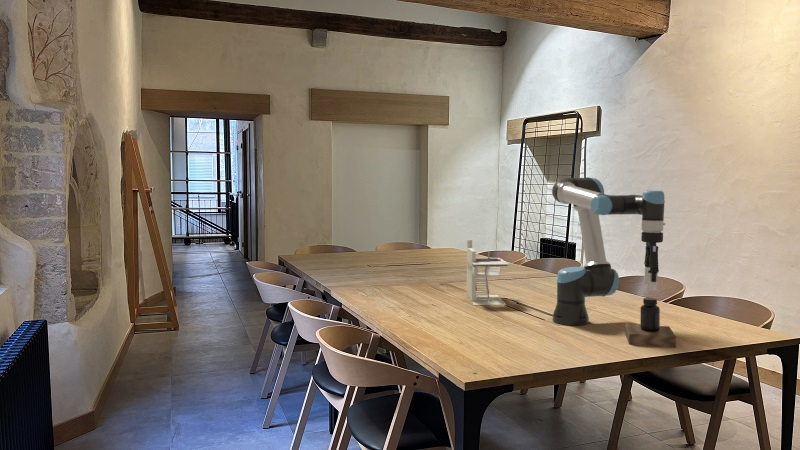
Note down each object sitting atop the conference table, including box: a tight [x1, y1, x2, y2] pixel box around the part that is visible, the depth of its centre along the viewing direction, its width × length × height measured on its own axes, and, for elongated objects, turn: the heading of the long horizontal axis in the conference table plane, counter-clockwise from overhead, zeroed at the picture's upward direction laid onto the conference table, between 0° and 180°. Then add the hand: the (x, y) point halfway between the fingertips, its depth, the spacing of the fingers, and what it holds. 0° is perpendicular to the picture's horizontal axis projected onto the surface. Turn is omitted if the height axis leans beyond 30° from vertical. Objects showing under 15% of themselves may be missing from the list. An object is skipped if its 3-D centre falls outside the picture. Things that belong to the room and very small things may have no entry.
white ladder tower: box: [466, 239, 510, 306], centre depth 303 cm, size 28×18×30 cm, turn 1°
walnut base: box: [624, 323, 677, 348], centre depth 225 cm, size 16×16×4 cm
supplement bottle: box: [639, 297, 661, 332], centre depth 224 cm, size 7×7×12 cm
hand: (650, 287), depth 224 cm, fingers open, 13 cm apart
